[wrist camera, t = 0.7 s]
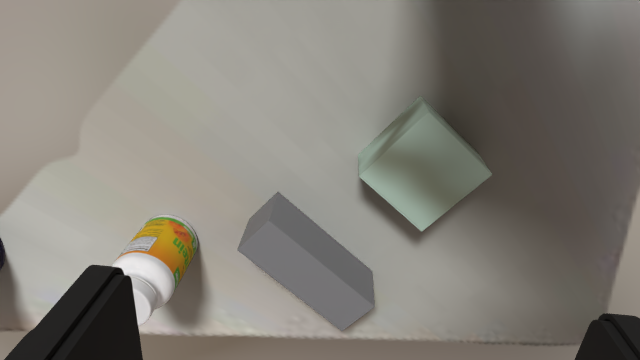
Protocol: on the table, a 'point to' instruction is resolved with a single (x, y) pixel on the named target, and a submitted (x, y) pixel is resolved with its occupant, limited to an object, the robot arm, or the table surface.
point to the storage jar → (2, 254)
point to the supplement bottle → (157, 261)
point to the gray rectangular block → (308, 262)
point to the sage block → (421, 165)
